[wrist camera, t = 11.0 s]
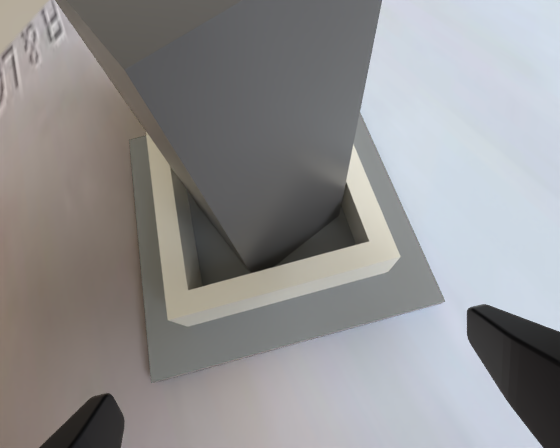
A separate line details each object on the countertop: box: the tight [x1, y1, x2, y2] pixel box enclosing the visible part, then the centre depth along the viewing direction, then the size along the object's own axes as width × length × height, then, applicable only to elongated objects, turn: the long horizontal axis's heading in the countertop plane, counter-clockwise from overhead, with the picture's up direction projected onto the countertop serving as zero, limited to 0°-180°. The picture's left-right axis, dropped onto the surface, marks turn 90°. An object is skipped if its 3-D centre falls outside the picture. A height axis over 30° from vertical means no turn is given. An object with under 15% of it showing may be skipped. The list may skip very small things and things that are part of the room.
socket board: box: [129, 113, 445, 383], centre depth 17 cm, size 14×14×3 cm
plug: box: [55, 0, 382, 273], centre depth 12 cm, size 6×6×13 cm
